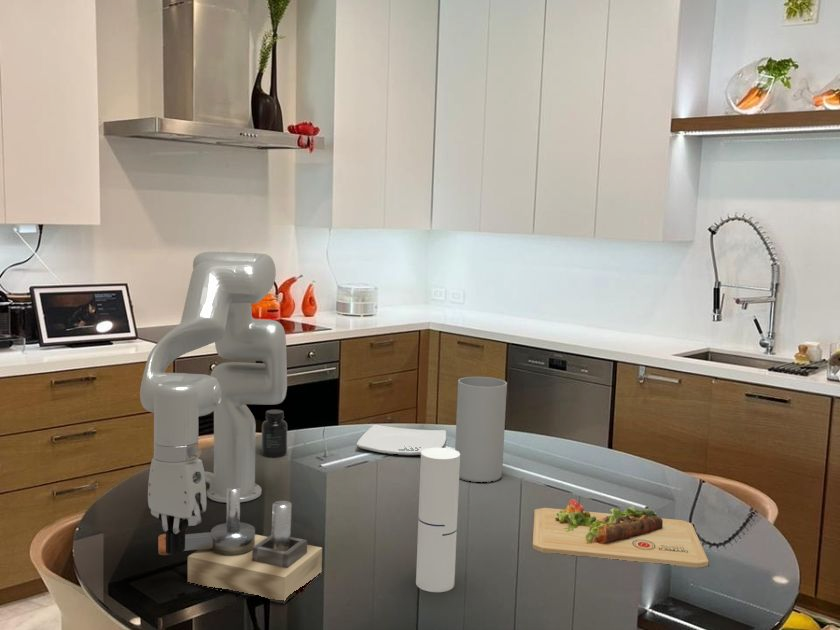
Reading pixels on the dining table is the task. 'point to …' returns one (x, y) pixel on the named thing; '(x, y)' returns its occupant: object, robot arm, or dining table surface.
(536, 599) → the dining table surface
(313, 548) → the block
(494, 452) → the cylinder vase
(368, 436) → the plate
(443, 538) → the cylindrical container
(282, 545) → the key peg
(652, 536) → the cutting board
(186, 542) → the grey crank lever
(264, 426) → the supplement bottle
